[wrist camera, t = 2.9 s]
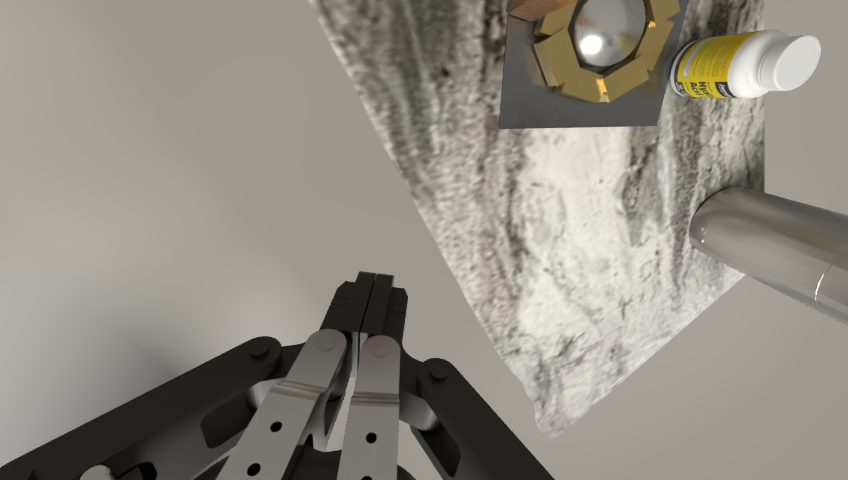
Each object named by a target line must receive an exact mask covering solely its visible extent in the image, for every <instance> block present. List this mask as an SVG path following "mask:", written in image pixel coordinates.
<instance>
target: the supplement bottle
mask: <svg viewBox="0 0 848 480" xmlns="http://www.w3.org/2000/svg"><path fill="white" fill-rule="evenodd" d="M820 54H821V47H820V43H819V41H818V39H817V38H816V37H814V36H812V35H801V36H792V37H789V36H788V35H787V34H785V33H784V32H782V31H779V30H763V31H755V32H748V33H741V34H733V35H726V36H718V37H711V38H704V39H699V40H696V41H693V42H691V43H689V44H688V45H687V46H685V47H684V48H683V49H682V50H681V51H680V53H679V54H678V55H677V57H676V59H675V61H674V63H673V66H672V69H671V74H670V81H671V85H672V88H673V89H674V91H675V92H676V93H678V94H679V95H682V96H688V97H713V98H755V97H758V96H761V95H763V94H765V93H767V92H768V91H788V90H792V89H794V88H797V87H799V86H800V85H802V84H803V83H804V82H805V81H806V80H807V79H808V78H809V77H810V76H811V75H812V73H813V71H814V70H815V68H816V66H817V64H818V62H819V58H820Z"/></svg>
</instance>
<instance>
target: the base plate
mask: <svg viewBox="0 0 848 480" xmlns="http://www.w3.org/2000/svg"><path fill="white" fill-rule="evenodd" d="M688 1H689V0H678V2H679V7H680V11H679V12H678V13H676V14H675V15H673V16H671V17H670V18H668V19H666V20H668V21H671V22H673V23H674V25H673V27H672V29H671V31H670V33H669V36H668V38H667V40H666V42H665V44H664V46H663V49H662V51H661V53H660V55H659V57H658V60H657V62H656V64H655V66H654V68H653V70H652V71H647V72H648V76H649V79H648V80H646V81H645V82H643V83H641V84H640V85H638V86H636V87H635V88H633V89H631V90H630V91H628V92H626V93H625V94H623V95H621V96H619V97H618V98H616V99H614V100H613V101H611V102H599V103H589V102H585V101H582V100H579V99H576V98H573V97H569V96H566V95H563V94H560V93H557V92H554V91H555V88H556V86H548V84H547V81H546V78H545V76H544V73H543V70H542V68H541V65H540V62H539V59H538V57H537V54H536V51H535V49H534V46H533V44H535V43H537V42H538V41H540V40H541V39H543V38H542V37H539V36H536V35H533V33H534V30H535V27H536V24H537V22H534V21H531V22H530V21H528V20H525V19H522V18H519V17H516V16H514V15H511V14H508V18H507V31H506V43H505V56H504V68H503V81H502V94H501V106H500V119H499V129H520V128H571V127H622V126H656V125H657V122H658V118H659V114H660V110H661V106H662V102H663V98H664V94H665V90H666V86H667V83H668V79H669V75H670V71H671V67H672V63H673V59H674V55H675V51H676V48H677V44H678V40H679V36H680V32H681V28H682V24H683V20H684V16H685V12H686V9H687V5H688ZM644 25H645V7H644V3H643V0H578V1H577V3H576V6H575V9H574V12H573V15H572V17H571V20H570V23H569V26H568V28H567V30H568V33H569V36H570V39H571V42H572V45H573V48H574V51H575V55H576V58H577V61H578V64H579V67H580V68H582V69H585V70H588V71H591V72H594V73H597V74H601V73H602V72H604V71H606V70H607V69H609V68H610V67H612V66H614V65H615V64H617V63H619V62H620V61H622V60H624V58H626V57H627V56H628V55H629V54H630V53H631V52H632V51H633V50H634V48H635V47H636V45H637V44H638V42H639V40H640V38H641V36H642V33H643V29H644Z"/></svg>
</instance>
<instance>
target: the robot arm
mask: <svg viewBox="0 0 848 480" xmlns="http://www.w3.org/2000/svg"><path fill="white" fill-rule="evenodd" d="M690 240H691V243H692V244H693V246H694V247H695V248H696V249H697V250H698V251H700V252H702V253H704V254H706V255H708V256H710V257H712V258H714V259H716V260H718V261H720V262H722V263H724V264H726V265H728V266H730V267H732V268H734V269H736V270H738V271H740V272H742V273H744V274H746V275H748V276H750V277H752V278H754V279H756V280H757V281H759V282H761V283H763V284H765V285H767V286H769V287H772V288H773V289H775V290H777V291H779V292H781V293H783V294H785V295H787V296H789V297H791V298H793V299H795V300H797V301H799V302H801V303H803V304H805V305H807V306H809V307H811V308H813V309H815V310H817V311H819V312H821V313H823V314H825V315H827V316H829V317H831V318H833V319H835V320H837V321H839V322H841V323H843V324H845V325H847V326H848V215H845V214H841V213H837V212H833V211H830V210H826V209H822V208H819V207H815V206H811V205H808V204H804V203H800V202H796V201H792V200H789V199H785V198H781V197H778V196H775V195H771V194H767V193H763V192H759V191H756V190H752V189H748V188H744V187H731V188H727V189H724V190H722V191H720V192H718V193H716V194H715V195H713V196H712V197H710V198H709V199H708V200H707V201H706V202H705V203H704V204H703V205H702V206H701V207H700V208H699V210H698V211H697V213H696V214H695V216H694V218H693V221H692V223H691V227H690ZM393 283H394V275H385V274H376V273H369V272H362V271H360V272H359V274H358V276H357V279H356V282H348V281H345V282H344V283H343V284H342V285H341V286H340V287H338V288H337V291H336V293H335V295H334V298H333V300H332V302H331V305H330V307H329V309H328V311H327V314H326V316H325V318H324V320H323V323H322V325H321V327H320V329H319V331H317V332H315V333H313V334H312V335H311V336H310V337H309V338H308V339H307V341H306V342H304V343H302V344H297V345H291V346H283V347H281V344H280V342H279V341H278V340H277V339H275V338H272V337H268V336H263V337H257V338H253V339H251V340H249V341H247V342H245V343H243V344H241V345H239V346H237V347H235V348H233V349H231V350H229V351H227V352H225V353H223V354H221V355H219V356H217V357H215V358H213V359H211V360H209V361H207V362H205V363H203V364H202V365H200V366H198V367H196V368H194V369H192V370H190V371H188V372H186V373H184V374H182V375H180V376H178V377H176V378H174V379H172V380H170V381H168V382H166V383H164V384H162V385H160V386H158V387H156V388H154V389H152V390H150V391H148V392H146V393H144V394H143V395H141V396H139V397H137V398H135V399H133V400H131V401H129V402H127V403H125V404H123V405H121V406H119V407H117V408H115V409H113V410H111V411H109V412H107V413H105V414H103V415H101V416H99V417H97V418H95V419H93V420H91V421H89V422H87V423H85V424H84V425H82V426H80V427H78V428H76V429H74V430H72V431H70V432H68V433H66V434H64V435H62V436H60V437H58V438H56V439H54V440H52V441H50V442H48V443H46V444H44V445H42V446H40V447H38V448H36V449H34V450H33V451H30V452H28V453H26V454H25V455H23V456H21V457H19V458H17V459H15V460H13V461H11V462H9V463H7V464H6V465H4V466H2V467H1V468H0V480H187V479H189V478H190V477H192V476H193V475H195V474H196V473H197V472H199V471H200V470H202V469H203V468H204V467H206V466H207V465H209V464H210V463H212V462H213V461H214V460H216V459H217V458H219V457H220V456H222V455H223V454H224V453H226V452H227V451H229V450H230V449H231V448H233V447H234V446H235V448H234V450H233V451H232V453H231V455H229V456H227V457H226V458H224V459H222V460H221V461H219V462H217V463H216V464H214V465H213V466H211V467H210V468H209V469H208V470H206V471H205V472H203V473H202V474H201V475H199V476H198V477H197V478H195V479H194V480H416V479H415V478H414V477H413V476H412V475H411V474H410V473H408V472H407V471H406V470H405V469H404V468H402V467H400V466H399V465H397V453H398V426H399V419H400V420H402V421H404V422H406V423H408V424H410V428H411V431H412V433H413V434H414V436H415V437H416V439H417V440H418V442H419V443H420V445H421V446H422V448H423V449H424V451H425V453H426V454H427V456H428V457H429V458H430V460H431V462H432V463H433V465H434V466H435V468H436V469H437V471H438V472H439V474H440V475H441V477H442V479H443V480H555V479H554V478H553V477H552V476H551V475H550V474H549V473H548V471H547V470H546V469H545V468H544V467H543V466H542V465H541V464H540V462H539V461H538V460H537V459H536V458H535V457H534V456H533V455H532V454H531V452H530V451H529V450H528V449H527V448H526V447H525V446H524V444H523V443H522V442H521V441H520V440H519V439H518V438H517V437H516V435H515V434H514V433H513V432H512V431H511V430H510V429H509V428H508V426H507V425H506V424H504V422H503V421H502V420H501V419H500V417H499V416H498V415H497V414H496V413H495V412H494V411H493V410H492V409H491V407H490V406H489V405H488V404H487V403H486V402H485V401H484V399H483V398H482V397H481V396H480V395H479V394H478V393H477V392H476V390H475V389H474V388H473V387H472V386H471V385H470V384H469V383H468V381H466V379H465V378H464V377H463V376H462V375H461V374H460V373H459V371H458V370H457V369H456V368H455V367H454V366H453V365H452V364H451V363H450V362H448V361H446V360H444V359H440V358H431V359H428V360H426V361H424V362H421V361H418V360H416V359H414V358H412V357H411V356H409V355H408V354H407V353H406V352H405V350H404V349H403V346H402V339H403V331H404V325H405V317H406V308H407V301H408V296H407V294H406V291H405V289H404V288H396V287H393ZM350 376H351V377H356V382H355V388H354V394H353V396H352V397H351V402H350V407H349V413H348V418H347V424H346V430H345V435H344V441H343V447H342V450H338V451H331V452H326V448H327V444H328V441H329V438H330V436H331V433H332V430H333V427H334V425H335V422H336V419H337V416H338V414H339V411H340V408H341V406H342V403H343V400H344V397H345V394H346V388H347V385H348V381H349V378H350Z"/></svg>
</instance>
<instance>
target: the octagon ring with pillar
mask: <svg viewBox="0 0 848 480" xmlns="http://www.w3.org/2000/svg"><path fill="white" fill-rule="evenodd" d="M577 1H578V0H509V3H508V6H507V10H506V12H508V14H511V15H514V16H516V17H519V18H522V19H525V20H528V21H530V22H531V21H534V22H537V24H536V27H535V30H534V33H533V35H536V36H539V37H542V38H543V39H541V40H540V41H538V42H537V43H535V44H533V46H534V49H535V51H536V54H537V57H538V59H539V62H540V65H541V68H542V70H543V73H544V76H545V78H546V81H547V84H548V86H556V88H555V91H554V92H557V93H560V94H563V95H566V96H569V97H573V98H576V99H579V100H582V101H585V102H589V103H599V102H611V101H613V100H614V99H616V98H618V97H619V96H621V95H623V94H625V93H626V92H628V91H630V90H631V89H633V88H635V87H636V86H638V85H640V84H641V83H643V82H645V81H646V80H648V79H649V76H648V72H647V71H652V70H653V68H654V66H655V64H656V62H657V60H658V57H659V55H660V53H661V51H662V49H663V46H664V44H665V42H666V40H667V38H668V36H669V33H670V31H671V29H672V27H673V25H674V23H673V22H671V21H668V20H666V19H668V18H670V17H671V16H673V15H675V14H676V13H678V12H679V11H680V7H679V2H678V0H643V3H644V7H645V25H644V29H643V33H642V36H641V38H640V40H639V42H638V44H637V45H636V47H635V48H634V50H633V51H632V52H631V53H630V54H629V55H628V56H627V57H626V58H624V60H622V61H620V62H619V63H617V64H615V65H614V66H612V67H610V68H609V69H607V70H606V71H604V72H602V73H601V74H597V73H594V72H591V71H588V70H585V69H582V68H580V67H579V64H578V61H577V58H576V55H575V51H574V48H573V45H572V42H571V39H570V36H569V33H568V30H567V28H568V26H569V23H570V20H571V17H572V15H573V12H574V9H575V6H576V3H577Z"/></svg>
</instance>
